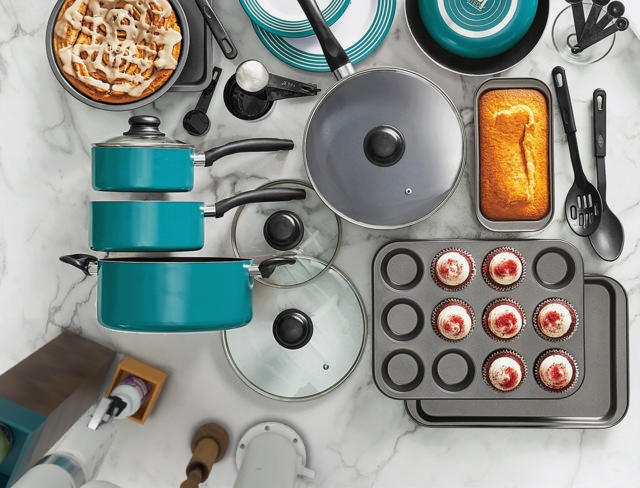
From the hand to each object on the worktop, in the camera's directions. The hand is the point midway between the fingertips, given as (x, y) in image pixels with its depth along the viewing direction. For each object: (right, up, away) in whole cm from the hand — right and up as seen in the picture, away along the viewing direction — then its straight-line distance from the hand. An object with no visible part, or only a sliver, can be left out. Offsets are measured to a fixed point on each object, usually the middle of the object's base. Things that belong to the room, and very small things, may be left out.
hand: (105, 429), depth 105 cm
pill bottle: (0, +1, +17) cm, 17 cm away
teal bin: (-11, +3, -10) cm, 16 cm away
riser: (-11, +4, +18) cm, 21 cm away
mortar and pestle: (+13, -9, +18) cm, 24 cm away
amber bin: (0, +1, +18) cm, 18 cm away
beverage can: (-11, +3, -11) cm, 16 cm away
